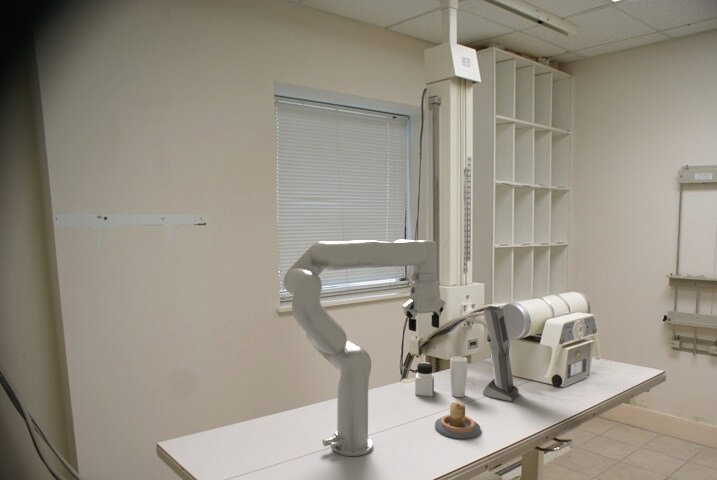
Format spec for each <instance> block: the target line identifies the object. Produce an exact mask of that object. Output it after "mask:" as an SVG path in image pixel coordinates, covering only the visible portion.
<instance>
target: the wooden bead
mask: <svg viewBox="0 0 717 480" xmlns="http://www.w3.org/2000/svg"><path fill="white" fill-rule="evenodd" d="M449 415H450V426H453V427H465V416H466V405H465V404H464V403H462V402H451V403H450V404H449Z"/></svg>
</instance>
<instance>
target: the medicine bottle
mask: <svg viewBox="0 0 717 480" xmlns="http://www.w3.org/2000/svg"><path fill="white" fill-rule="evenodd" d="M416 369H417V372H416V374H415V378H414V379H415V382H414V383H415V384H414V388H415V389H414V393H415V395H414V396H420V397H421V396H424V397H433V396H434V388H435V385H434V383H435V381H434V380H435V373H433V365H432V363H430V362H419V363H418V364H417V368H416Z"/></svg>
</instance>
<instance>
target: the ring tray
mask: <svg viewBox="0 0 717 480" xmlns="http://www.w3.org/2000/svg"><path fill="white" fill-rule="evenodd" d="M434 429H435V431H436V432H437V433H439V434H440V435H442V436H444V437H447V438H450V439H454V440H456V439H457V440H470V439H474V438H476V437H478V436H479V435H480V434H481V426H480V424H479V423H478V422H476V421H475V420H473V419H472V418H471V417H469V416H466V415H465V427H453V426H450V414H447V415H444V416H442V417H440V418H437V420H436V421H435V422H434Z"/></svg>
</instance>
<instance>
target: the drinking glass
mask: <svg viewBox="0 0 717 480" xmlns="http://www.w3.org/2000/svg"><path fill="white" fill-rule="evenodd" d="M449 373H450V386H451V388H450V389H451V391H450V392H451V396H453V397H455V398H464V397H465V395H466V385H467V375H468V359H467V357H465V356H459V355H458V356H456V355H455V356H451V357H450V361H449Z"/></svg>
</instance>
